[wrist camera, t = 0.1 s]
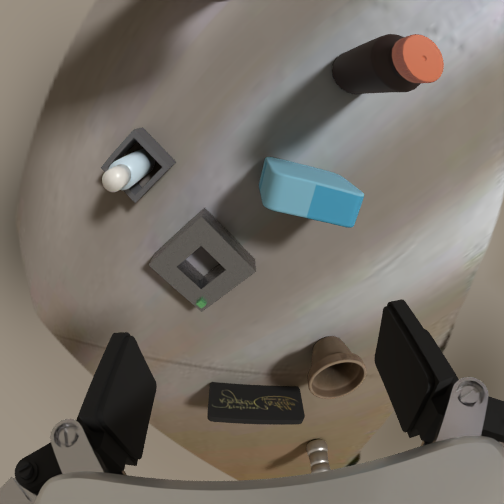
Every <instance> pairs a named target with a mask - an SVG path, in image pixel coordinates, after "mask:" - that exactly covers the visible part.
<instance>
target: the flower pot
mask: <svg viewBox="0 0 504 504" xmlns="http://www.w3.org/2000/svg"><path fill="white" fill-rule="evenodd" d="M365 377H366V367H365V365H364V363H363V361H362V359H361V358H360V357H359V356H358V355H356V354H353V353H352V352H351V351H350V350H349V348H348V347H347V346H346V345H345V344H344V343H343V342H342V341H341V340H340V339H339V338H337V337H334V336H329V337H325V338H322V339H320V340H319V341H318V342H317V343H316V344H315V345H314V347H313V352H312V365H311V369H310V371H309V373H308V377H307V380H308V387H309V390H310V391H311V393H312V394H313V395H315V396H317V397H319V398H324V399H332V398H338V397H341V396H344V395H347V394H349V393H351V392H352V391H354V390H355V389H356V388H358V387H359V386H360V385H361V383H362V382H363V381H364V379H365Z"/></svg>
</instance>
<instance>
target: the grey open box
mask: <svg viewBox="0 0 504 504" xmlns="http://www.w3.org/2000/svg"><path fill="white" fill-rule="evenodd" d="M136 141H138V142H139V143H140V144H141V145H142V146H143V148H144V149H145V150H146V151H147V152H148V153H149V154H150V155H151V156H152V157H153V158H154V159H155V160H156V161H157V162H158V163H159V164H160V165H161V166H162V168H161V169H160V170H159V171H158V172H157V173H156V174H155V175H154V176H153V177H152V178H151V179H150V180H149V181H148V182H147V183H146V185H145V186H144V187H143V188H142V187H141V186H140V185H139V184H138V183H137V182H136V183H135V184H134V185H133V186H131V187H130V188H128V189H126V190H123V191H124V192H125V193H126V194H127V195H128V196H129V197H130V198H131V199H132V200H133V201H134V202H135V203H136V202H137V201H138V200H139V199H140V198H141V197H142V196H143V195H144V194H145V193H146V192H147V191H148V190H149V189H150V188H151V187H152V186H153V185H154V184H155V183H156V182H157V181H158V180H159V179H160V178H161V177H162V176H163V175H164V174H165V173H166V172H167V171H168V170H169V169H170V168H171V167H172V166H173V165H174V164H175V163H176V161H175V160H174V159H173V158H172V157H171V156H170V155H169V154H168V153H167V152H166V151H165V150H164V149H163V148H162V147H161V146H160V145H159V144H158V143H157V142H156V141H155V140H154V139H153V138H152V137H151V135H150V134H149V133H148V132H147V131H146V130H145V129H144V128H139V129H134V130H133V131H132V132H131V133H130V134H129V136H128V137H127V138H126V139H125V140H124V141H123V142H122V143H121V144H120V146H119V147H118V148H117V149H116V150H115V151H114V153H113V154H112V155H111V156H110V157H109V158H108V160H107V161H106V162H105V163H104V164H103V166H102V167H101V168H102V170H103V171H104V172H106V171H107V170H108V169H109V167H110V165H111V164H112V163H113V162H114V161H116V160H118V159H120V158H122V157H123V156H124V154H125V153H126V152H127V151H128V150H129V149H130V148H131V147H132V146H133V144H134V143H135V142H136Z"/></svg>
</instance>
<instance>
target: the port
mask: <svg viewBox="0 0 504 504" xmlns="http://www.w3.org/2000/svg"><path fill="white" fill-rule="evenodd" d="M200 246H202V247H203V248H204V249H205V250H206V251H207V252H208V253H209V254H210V255H211V256H212V257H213V258H214V259H215V260H216V261H217V262H219V263H220V264H219V265H218V266H216V267H215V268H214V269H213V270H211V271H210V272H209V273H208V274H206V275H205V276H203V275H202V274H201V273H199V272H198V271H197V270H196V269H195V268H194V267H193V266H192V265H191V264H190V263H189V262H188V261H187V260H186V258H187V257H189V256H190V255H191V254H192V253H193V252H194V251H196V250H197V249H198V248H199V247H200ZM149 266H150V267H151V268H152V269H153V270H154V271H156V272H157V273H158V274H159V275H160V276H161V277H162V278H163V279H164V280H166V281H167V282H168V283H169V284H170V285H171V286H172V287H173V288H175V289H176V290H177V291H178V292H179V293H180V294H181V295H183V296H184V297H185V298H186V299H187V300H188V301H190V302H191V303H192V304H193V305H194V306H195V307H197V308H198V309H199V310H200V311H201V312H202V311H203V310H205V309H206V308H207V307H209V306H210V305H212V304H213V303H214V302H216V301H217V300H218V299H220V298H221V297H222V296H224V295H225V294H226V293H228V292H229V291H230V290H232V289H233V288H234V287H236V286H237V285H238V284H240V283H241V282H243V281H244V280H245V279H247V278H248V277H249V276H251V275H252V274H253V273H255V272H256V266H255V259H254V258H253V257H252V256H251V255H250V254H249V253H248V252H247V251H246V250H245V249H244V248H243V247H242V246H241V245H240V244H239V242H238V241H237V240H236V239H235V238H234V237H233V236H232V235H231V234H230V233H229V232H228V231H227V230H226V229H225V228H224V227H223V226H222V225H221V224H220V223H219V222H218V221H217V220H216V219H215V218H214V217H213V216H212V215H211V214H210V213H209V212H208V211H207V210H206V209H205V208H204V209H203V210H202V211H200V212H199V213H198V214H197V215H196V216H195V217H194V218H193V219H191V220H190V221H189V222H188V223H187V224H186V225H185V226H184V227H183V228H182V229H180V230H179V231H178V232H177V233H176V234H175V235H174V236H173V237H172V238H171V239H170V240H169V241H167V242H166V243H165V244H164V245H163V246H162V247H161V248H160V249H159V250H158V251H157V252H156V253H155V254H154V256H153V258H152V260H151V261H150V263H149Z"/></svg>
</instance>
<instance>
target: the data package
mask: <svg viewBox="0 0 504 504" xmlns="http://www.w3.org/2000/svg"><path fill="white" fill-rule="evenodd" d="M259 189H260V194H261V198H262V203H263V205H264V206H265V207H266V208H268V209H270V210H273V211H276V212H281V213H286V214H290V215H295V216H299V217H304V218H309V219H313V220H317V221H322V222H326V223H331V224H335V225H339V226H343V227H353V226H354V224H355V221H356V218H357V215H358V213H359V210H360V207H361V204H362V201H363V198H364V193H363V192H361V191H360V190H359V189H358V188H356V187H355V186H354V185H352V184H351V183H350V182H349V181H347V180H346V179H345V178H343V177H342V176H340V175H338V174H335V173H332V172H329V171H325V170H322V169H318V168H314V167H310V166H306V165H302V164H298V163H294V162H290V161H286V160H282V159H278V158H273V157H266V158H265V161H264V165H263V169H262V173H261V178H260V182H259Z"/></svg>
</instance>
